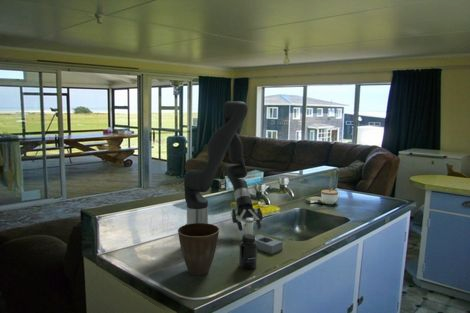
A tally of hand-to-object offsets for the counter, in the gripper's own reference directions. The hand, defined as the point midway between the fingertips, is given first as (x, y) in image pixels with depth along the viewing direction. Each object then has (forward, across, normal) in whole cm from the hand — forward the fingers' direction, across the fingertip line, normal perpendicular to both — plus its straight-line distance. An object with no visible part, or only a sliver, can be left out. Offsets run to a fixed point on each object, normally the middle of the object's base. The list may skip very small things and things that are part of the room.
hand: (250, 229), depth 166 cm
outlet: (+11, +3, -5) cm, 13 cm away
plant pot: (+22, -29, -16) cm, 40 cm away
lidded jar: (-33, +71, +40) cm, 88 cm away
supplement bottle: (+23, -10, -16) cm, 30 cm away
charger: (+3, 0, +4) cm, 5 cm away
